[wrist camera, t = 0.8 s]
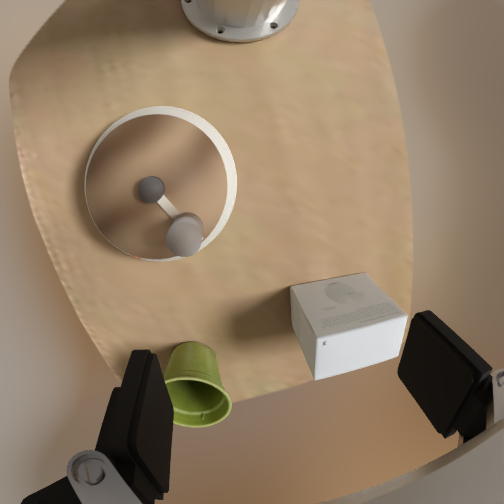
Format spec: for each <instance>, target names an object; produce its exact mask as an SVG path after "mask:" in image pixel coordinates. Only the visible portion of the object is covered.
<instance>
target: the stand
mask: <svg viewBox="0 0 504 504" xmlns="http://www.w3.org/2000/svg"><path fill="white" fill-rule="evenodd" d="M151 114H163V115H171V116H175V117H178V118H181V119H184V120H186V121H188V122H190V123H192V124H194V125H195V126H197V127H198V128H199V129H201V130H202V131H203V132H204V133H205V134H206V135H207V136H208V137H209V138H210V139H211V140H212V142H213V143H214V144H215V146H216V147H217V149H218V151H219V153H220V155H221V157H222V160H223V162H224V165H225V170H226V174H227V198H226V203H225V207H224V210H223V213H222V215H221V217H220V220H219V222H218V223H217V225H216V227H215V228H214V230H213V231H212V232H211V233H210V235H209V236H208V237H207V238H206V239H205V240H204V241H203V242H202V243H201V246H200V248H199V250H201V249H202V248H204V247H205V246H206V245H208V244H209V243H210V242H211V241H212V240H213V239H214V238H215V237H216V236H217V235H218V234H219V233H220V231H221V230H222V229H223V227H224V226H225V224H226V222H227V221H228V219H229V216H230V214H231V212H232V209H233V206H234V203H235V198H236V192H237V175H236V168H235V164H234V160H233V157H232V154H231V152H230V149H229V148H228V146H227V144H226V142H225V140H224V139H223V138H222V136H221V135H220V134H219V132H218V131H217V130H216V129H215V128H214V127H213V126H212V125H211V124H210V123H208V122H207V121H206V120H204V119H203V118H201V117H200V116H198V115H196V114H194V113H192V112H189V111H187V110H184V109H180V108H176V107H169V106H153V107H147V108H142V109H139V110H136V111H134V112H131V113H129V114H127V115H125V116H123V117H122V118H120V119H119V120H117V121H116V122H114V123H113V124H112V125H111V126H110V127H109V128H108V129H107V130H106V131H105V132H104V133H103V134H102V136H101V137H100V138H99V140H98V141H97V143H96V144H95V146H94V148H93V150H92V152H91V154H90V157H89V160H88V163H87V166H86V171H85V180H84V189H85V198H86V176H87V171H88V167H89V164H90V161H91V158H92V156H93V154H94V152H95V150H96V149H97V147H98V146H99V144H100V143H101V142H102V140H103V139H104V138H105V137H106V136H107V135H108V134H109V133H110V132H111V131H112V130H113V129H115V128H116V127H118V126H119V125H121V124H122V123H124V122H126V121H128V120H130V119H133V118H136V117H139V116H144V115H151ZM86 203H87V199H86ZM87 207H88V204H87ZM88 210H89V208H88ZM89 213H90V211H89ZM90 215H91V214H90ZM91 218H92V216H91ZM92 220H93V218H92ZM93 222H94V220H93ZM95 225H96V224H95ZM96 227H97V226H96ZM97 228H98V227H97ZM98 230H99V229H98ZM99 231H100V230H99ZM101 234H102V233H101ZM102 235H103V234H102ZM103 236H104V235H103ZM107 240H108V239H107ZM108 241H109V240H108ZM109 242H110V241H109ZM110 243H111V242H110ZM111 244H112V243H111ZM112 245H113V244H112ZM113 246H115V245H113ZM115 247H116V246H115ZM116 248H117V247H116ZM118 249H119V248H118ZM119 250H121V249H119ZM199 250H198V251H199ZM121 251H122V250H121ZM122 252H124V251H122ZM124 253H126V252H124ZM126 254H128V253H126ZM128 255H130V256H132V257H135V258H138V259H142V260H147V261H154V262H165V261H173V260H177V259H181V258H184V257H180V256H176V257H172V258H166V259H146V258H140V257H137V256H133V255H131V254H128Z"/></svg>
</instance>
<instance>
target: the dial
mask: <svg viewBox="0 0 504 504" xmlns="http://www.w3.org/2000/svg"><path fill="white" fill-rule="evenodd" d="M226 198H227V174H226V170H225V165H224V162H223V160H222V157H221V155H220V153H219V151H218V149H217V147H216V146H215V144H214V143H213V142H212V140H211V139H210V138H209V137H208V136H207V135H206V134H205V133H204V132H203V131H202V130H201V129H199V128H198V127H197V126H195V125H194V124H192V123H190V122H188V121H186V120H184V119H181V118H178V117H175V116H171V115H163V114H151V115H144V116H139V117H136V118H133V119H130V120H128V121H126V122H124V123H122V124H121V125H119V126H118V127H116V128H115V129H113V130H112V131H111V132H110V133H109V134H108V135H107V136H106V137H105V138H104V139H103V140H102V142H101V143H100V144H99V146H98V147H97V149H96V150H95V152H94V154H93V156H92V158H91V161H90V164H89V167H88V171H87V176H86V199H87V204H88V208H89V211H90V214H91V216H92V218H93V220H94V223H95V224H96V226H97V227H98V229H99V230H100V232H101V233H102V234H103V235H104V237H105V238H106V239H108V240H109V241H110V242H111V243H112V244H113V245H115V246H116V247H117V248H119V249H121V250H122V251H124V252H126V253H128V254H131V255H133V256H137V257H140V258H146V259H166V258H172V257H176V256H180V257H188V256H191V255H193V254H195V253H196V252H197V251H198V250H199V248H200V246H201V243H202V242H203V241H204V240H205V239H206V238H207V237H208V236H209V235H210V233H211V232H212V231H213V230H214V228H215V227H216V225H217V223H218V222H219V220H220V217H221V215H222V213H223V210H224V207H225V203H226Z"/></svg>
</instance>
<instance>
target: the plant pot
mask: <svg viewBox="0 0 504 504" xmlns="http://www.w3.org/2000/svg"><path fill="white" fill-rule="evenodd" d="M163 377H164V380H165V384H166V387H167V390H168V392H169V395H170V398H171V401H172V404H173V408H174V420H173V423H174V424H177V425H181V426H186V427H206V426H211V425H214V424H216V423H218V422H220V421H222V420H223V419H225V418H226V417H227V415H228V414H229V413H230V411H231V407H232V404H231V399H230V396H229V395H228V393H227V392H226V391H225V389H224V387H223V386H222V383H221V378H220V374H219V370H218V366H217V361H216V357H215V354H214V352H213V351H212V350H211V349H210V348H209V347H206V346H204V345H202V344H200V343H198V342H186V343H182V344H180V345H178V346H177V347H176V348H175V349H174V350H173V352H172V354H171V357H170V359H169V362H168V364H167V367H166V370H165V372H164V375H163Z"/></svg>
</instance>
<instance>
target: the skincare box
mask: <svg viewBox="0 0 504 504" xmlns="http://www.w3.org/2000/svg"><path fill="white" fill-rule="evenodd" d="M290 298H291V319H292V327H293V329H294V331H295V334H296V336H297V339H298V341H299V344H300V346H301V349H302V351H303V353H304V356H305V358H306V361H307V363H308V365H309V368H310V370H311V373H312V375H313V378H314V380H319V379H322V378H327V377H331V376H335V375H338V374H342V373H346V372H349V371H353V370H356V369H359V368H363V367H367V366H370V365H373V364H376V363H379V362H382V361H386V360H389V359H392V358H394V357H397V356H398V354H399V350H400V347H401V343H402V339H403V335H404V331H405V326H406V322H407V317H408V316H407V314H406V313H405V312H404V311H403V310H402V309H401V308H400V307H399V306H398V305H397V304H396V303H395V302H394V301H393V300H392V299H391V298H390V297H389V296H388V295H387V294H386V293H385V292H384V291H383V290H382V289H381V288H380V287H379V286H378V285H377V284H376V283H375V282H374V281H373V280H372V279H371V278H370V277H369V276H368V275H367V274H366V273H365V272H364V273H359V274H353V275H348V276H343V277H338V278H332V279H327V280H321V281H316V282H311V283H305V284H300V285H294V286H291V287H290Z"/></svg>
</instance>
